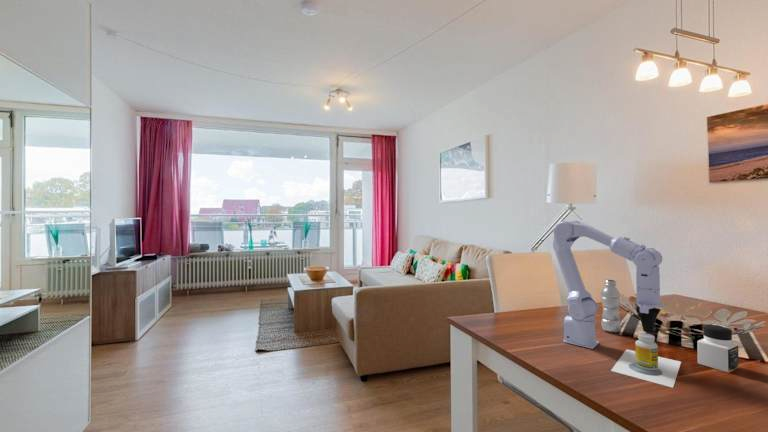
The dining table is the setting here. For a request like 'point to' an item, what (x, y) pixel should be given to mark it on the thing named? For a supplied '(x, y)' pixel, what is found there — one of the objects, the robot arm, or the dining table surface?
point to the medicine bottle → (718, 348)
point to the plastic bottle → (610, 307)
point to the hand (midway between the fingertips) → (648, 331)
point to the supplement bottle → (646, 352)
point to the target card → (660, 376)
